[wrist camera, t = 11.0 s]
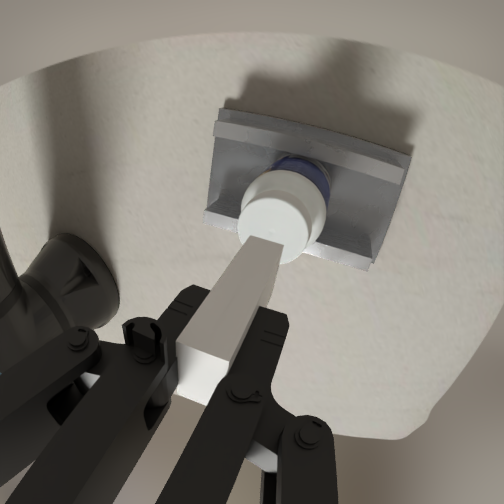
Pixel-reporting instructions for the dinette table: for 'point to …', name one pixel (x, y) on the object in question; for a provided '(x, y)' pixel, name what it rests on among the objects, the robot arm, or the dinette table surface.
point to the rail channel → (336, 164)
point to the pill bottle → (287, 204)
